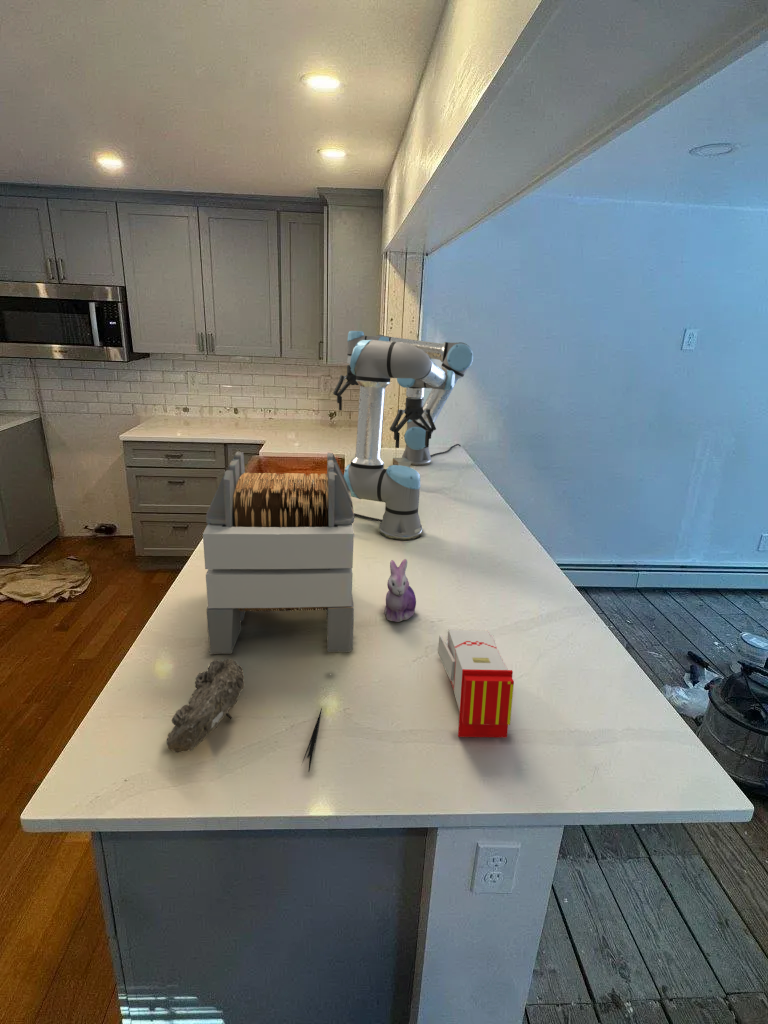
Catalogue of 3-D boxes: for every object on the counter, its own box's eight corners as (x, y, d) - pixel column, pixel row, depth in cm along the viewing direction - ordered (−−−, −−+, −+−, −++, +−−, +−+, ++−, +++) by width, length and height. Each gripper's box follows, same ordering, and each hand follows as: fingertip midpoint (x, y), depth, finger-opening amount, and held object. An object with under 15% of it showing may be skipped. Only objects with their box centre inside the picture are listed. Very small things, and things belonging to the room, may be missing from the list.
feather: (331, 679, 122) (336, 673, 122) (307, 777, 96) (313, 769, 95) (324, 675, 122) (329, 669, 121) (298, 772, 95) (304, 764, 95)
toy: (488, 613, 130) (523, 677, 101) (484, 667, 133) (517, 744, 104) (435, 612, 130) (455, 676, 101) (432, 666, 133) (451, 743, 103)
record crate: (229, 585, 158) (221, 442, 144) (346, 584, 161) (350, 444, 148) (206, 656, 126) (193, 481, 112) (353, 652, 130) (358, 483, 116)
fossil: (192, 660, 117) (244, 628, 112) (224, 691, 120) (276, 661, 115) (142, 746, 98) (202, 712, 93) (182, 779, 101) (242, 748, 96)
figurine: (392, 627, 141) (395, 572, 136) (374, 608, 149) (376, 556, 144) (425, 619, 145) (429, 566, 140) (405, 601, 154) (408, 550, 149)
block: (396, 486, 253) (398, 462, 249) (391, 481, 259) (392, 457, 256) (409, 485, 255) (410, 461, 251) (403, 481, 261) (404, 457, 257)
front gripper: (389, 399, 232) (387, 450, 239) (445, 398, 239) (442, 447, 246) (383, 396, 238) (382, 445, 246) (438, 395, 245) (435, 443, 253)
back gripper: (331, 365, 261) (330, 411, 269) (382, 366, 269) (380, 410, 276) (327, 363, 268) (327, 408, 275) (377, 364, 276) (376, 408, 283)
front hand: (412, 446), depth 246 cm, fingers open, 13 cm apart
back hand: (353, 409), depth 276 cm, fingers open, 13 cm apart
